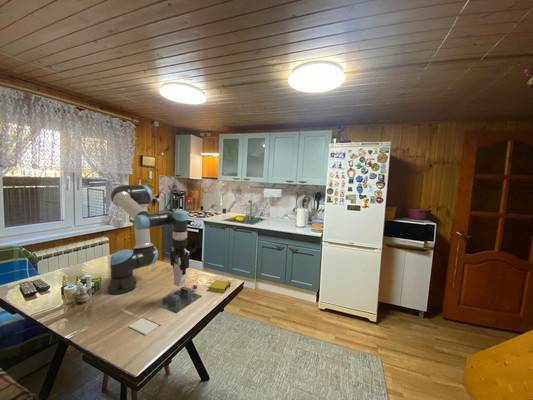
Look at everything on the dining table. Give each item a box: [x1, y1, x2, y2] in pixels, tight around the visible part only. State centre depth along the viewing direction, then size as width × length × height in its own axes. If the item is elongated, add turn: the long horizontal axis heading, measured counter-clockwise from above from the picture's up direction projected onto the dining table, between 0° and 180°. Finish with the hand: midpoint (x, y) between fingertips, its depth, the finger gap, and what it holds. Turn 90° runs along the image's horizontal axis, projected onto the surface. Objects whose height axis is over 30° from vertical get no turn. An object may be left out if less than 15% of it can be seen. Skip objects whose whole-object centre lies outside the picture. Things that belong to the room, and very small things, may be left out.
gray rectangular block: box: [173, 260, 186, 288], centre depth 128 cm, size 4×7×12 cm, turn 155°
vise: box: [155, 284, 203, 314], centre depth 130 cm, size 16×23×6 cm
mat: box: [128, 317, 162, 336], centre depth 110 cm, size 12×16×1 cm
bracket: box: [206, 279, 231, 294], centre depth 144 cm, size 16×8×15 cm
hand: (179, 278), depth 127 cm, fingers closed on gray rectangular block, 4 cm apart
